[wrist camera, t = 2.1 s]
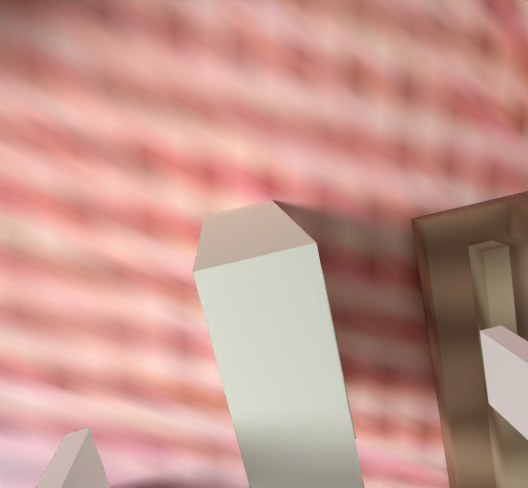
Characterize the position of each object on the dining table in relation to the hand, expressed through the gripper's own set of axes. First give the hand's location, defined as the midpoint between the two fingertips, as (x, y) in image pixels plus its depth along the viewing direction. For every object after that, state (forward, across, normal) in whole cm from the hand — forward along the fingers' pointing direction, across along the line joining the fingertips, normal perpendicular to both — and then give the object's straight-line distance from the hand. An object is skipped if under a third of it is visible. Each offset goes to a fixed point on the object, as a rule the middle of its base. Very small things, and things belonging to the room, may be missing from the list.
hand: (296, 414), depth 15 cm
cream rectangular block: (+13, 0, 0) cm, 13 cm away
